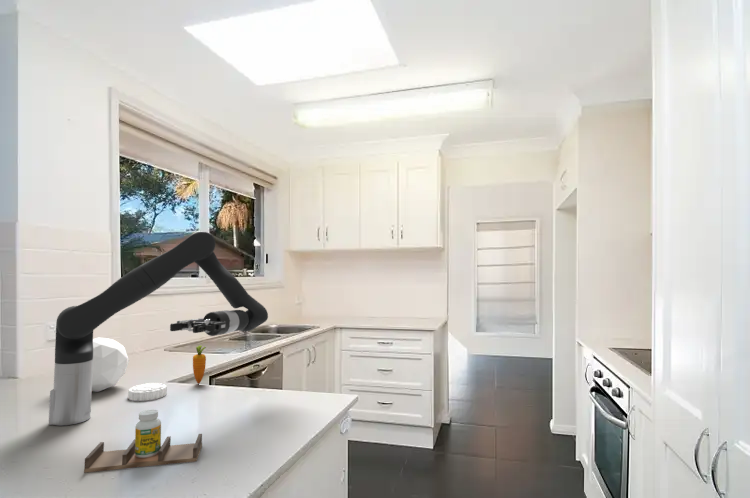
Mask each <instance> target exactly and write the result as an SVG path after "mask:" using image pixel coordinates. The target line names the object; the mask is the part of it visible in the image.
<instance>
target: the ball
mask: <svg viewBox="0 0 750 498" xmlns="http://www.w3.org/2000/svg"><path fill="white" fill-rule="evenodd" d="M129 362H130V360H129V356H128V353H127V350H126V347H125V346H124V345H123V344H122V343H120V342H119V341H117V340H115V339H112V338H108V337H96V338H93V371H92V392H101V391H103V390H106V389H109V388H111V387H114V386H116V385H117V384H118V383H119V381H120V380H121V379H122V378H123V377H124V375H125V374H126V371H127V368H128V365H129Z"/></svg>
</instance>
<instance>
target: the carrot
mask: <svg viewBox="0 0 750 498" xmlns="http://www.w3.org/2000/svg"><path fill="white" fill-rule="evenodd" d="M202 346H203V345H197V346H196V347H195V349H196V352H197V353H196V354H194V355H193V356H192V370H193V376H194V378H195V381H196V383H197V384H198V385H200V383H201V382H202V380H203V378H204V376H205V373H206V371H205V370H206V364H207V363H206V361H207V356H206V355H205V353H202V352H203V351H204V350H205V349H207V347H205V346H204V347H202Z"/></svg>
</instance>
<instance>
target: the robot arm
mask: <svg viewBox="0 0 750 498" xmlns="http://www.w3.org/2000/svg"><path fill="white" fill-rule="evenodd" d="M215 249H216V239H215V237H214V236H213V234H212V233H210V232H208V231H204V230H203V231H201V230H200V231H199V230H198V231H195V232H193V233H191V234H190V235H189V236H188V237H187V238H185V239H184V240H182V241H181V242H180V243H178V244H177V245H175V246H174V247H172V248H170V249H169V250H168V251H166V252H164V253H162V254H160V255H158V256H155V257H154V258H152V259H150V260H148V261H146V262H144V263H143V264H140V265H139V266H137V267H135V268H133V269H132V270H130V271H128V272H127V273H125V274H124V275H123V276H121V277H120V278H118V279H117V280H116V281H115V282H114V283H113V284H111V285H110V286H109V287H108V288H106V289H105V290H104V291H102V292H101V293H99V294H98V295H96V296H95V297H93V298H91V299H88V300H87V301H85V302H82V303H81V304H79V305H73V306H68V307H67V308H65V309H63V310H62V311H61V312H60V313H59V314H58V316H57V318H56V322H55V323H56V324H55V325H56V326H55V344H54V345H55V346H54V369H53V370H54V375H53V389H51V390H50V391H49V404H48V405H49V406H48V408H49V409H48V410H49V411H48V425H52V426H53V425H54V426H69V425H75V424H80V423H83V422H85V421H88V420H90V418H91V413H92V392H93V391H92V371H93V339H94V330H95V329H97V328H98V327H99V326H101V325H102V324H104V323H105V322H107V320H108V319H109V318H111V317H113V316H114V315H116V314H117V313H118V312H120V311H123V310H124V309H126V308H128V307H130V306H132V305H134V304H136V303H137V302H138V301H141V300H143V299H144V298H146V297H148V296H149V295H151V294H152V293H154V292H155V291H157V290H158V289H160V288H161V287H163V286H164V285H165V284H167V283H168V282H169V281H170V280H171V279H172V278H174V277H175V276H176V275H177V274H178V273H180V271H182V270H183V269H185V268H186V267H188V266H190V265H191V264H193V263H195V264H196V265H197V266H198V267H200V269H202V270H203V272H204V273H205V274H206V275H207V276H208V278H210V280H211V281H212V282H213V283H214V285H215V286H216V288H217V289H218V290H219V291H220V293H221V294H222V295H223V297H224V298H225V299H226V301H227V302H228V303H229V304H230V306H231V307H232V308H233V310H218V311H210V312H208V313H206V314H205V315H204V317H203V318H202V317H200V318H197V319H195V318H194V319H185V320H177V321H176V322H173V323H170V325H169V331H170V332H178V331H188V332H192V333H193V334H196V333H197V334H198V333H205V334H206V335H208V336H210V337H215V336H221V335H226V334H229V333H233V332H237V331H240V332H250V331H253V330H254V329H256V328H258V327H259V326H261V325H262V324H264V323H265V322H267V320H268V318H269V314H268V313H269V312H268V311H267V309H266V307H265V306H264V305H263V304H261V303H260V302H258V300H257V299H255V298H254V297H252V296H251V295H250V294H249V293H248V292H247V290H246V289H245V287H244V286H243V285H242V284H241V282H240V281H239V280H238V278H236V276H234V274H232V273H231V272H230V271H229V270H227V268H226V267H225V266H224V265H223V264H222V263H221V262H220V260H219V259H218V257H217V255H216V254H215V252H214V251H215ZM240 308H245V309H246V310H242V309H240Z"/></svg>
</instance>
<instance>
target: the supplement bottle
mask: <svg viewBox="0 0 750 498" xmlns="http://www.w3.org/2000/svg"><path fill="white" fill-rule="evenodd" d="M158 417H159V410H157V409H147V410H143V411H141V412H139V413H138V420H139V421H137V423H136V424H135V426H134V427H135V430H134V434H135V435H134V436H135V437H134V438H135V456H136V457H138V458H147V457H152V456H154V455H156V454H158V452H159V450H160V448H161V446H162V443H161V442H162V439H161V438H162V422H161V419H159V418H158Z"/></svg>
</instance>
